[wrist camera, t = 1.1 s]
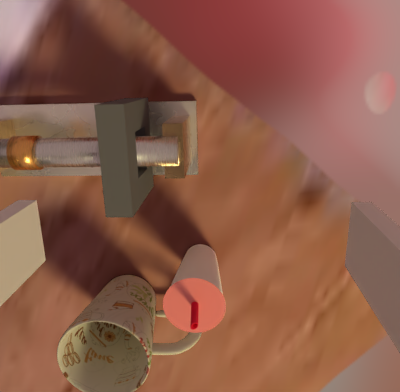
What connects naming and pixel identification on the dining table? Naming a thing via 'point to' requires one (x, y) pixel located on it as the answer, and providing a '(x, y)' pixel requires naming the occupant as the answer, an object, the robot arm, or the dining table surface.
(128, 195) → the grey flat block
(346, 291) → the dining table surface
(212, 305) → the cup
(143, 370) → the mug
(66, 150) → the metal rod stand
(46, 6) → the dining table surface
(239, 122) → the dining table surface
